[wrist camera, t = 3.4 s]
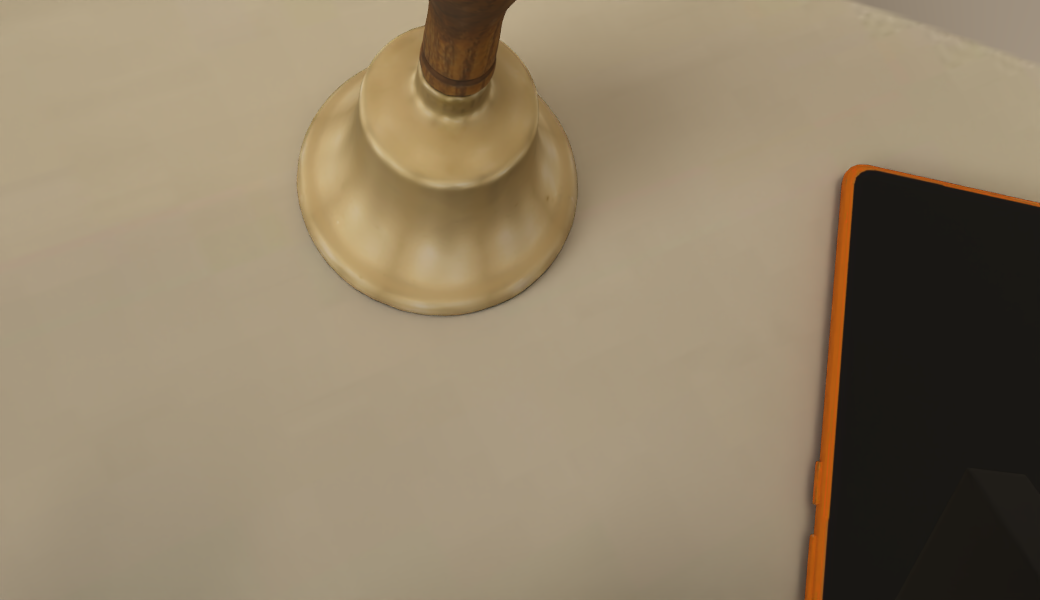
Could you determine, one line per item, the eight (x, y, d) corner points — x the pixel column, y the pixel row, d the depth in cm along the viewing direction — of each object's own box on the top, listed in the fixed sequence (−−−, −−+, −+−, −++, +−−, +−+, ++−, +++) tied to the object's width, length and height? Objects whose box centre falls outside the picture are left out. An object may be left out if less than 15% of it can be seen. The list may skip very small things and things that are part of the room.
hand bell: (297, 52, 28) (188, -528, 12) (566, 57, 29) (768, -465, 14) (297, 320, 26) (168, 25, 11) (585, 313, 27) (843, 40, 12)
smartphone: (1053, 214, 30) (1072, 206, 29) (1043, 767, 26) (1064, 775, 25) (834, 165, 29) (847, 155, 28) (787, 726, 25) (801, 733, 24)
